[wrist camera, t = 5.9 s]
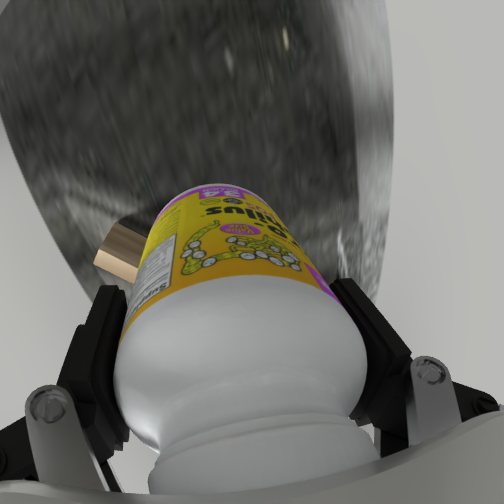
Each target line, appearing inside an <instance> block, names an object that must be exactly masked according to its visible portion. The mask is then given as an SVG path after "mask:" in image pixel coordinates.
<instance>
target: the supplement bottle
mask: <svg viewBox="0 0 504 504" xmlns="http://www.w3.org/2000/svg"><path fill="white" fill-rule="evenodd" d="M366 374H367V355H366V349H365V345H364V342H363V339H362V336H361V334H360V332H359V330H358V328H357V326H356V325H355V323H354V322H353V320H352V319H351V317H350V316H349V314H348V313H347V311H346V310H345V309H344V307H343V306H342V304H341V303H340V302H339V300H338V299H337V297H336V296H335V295H334V293H333V292H332V291H331V289H330V288H329V286H328V285H327V283H326V282H325V281H324V279H323V278H322V276H321V275H320V273H319V272H318V271H317V269H316V268H315V266H314V265H313V264H312V262H311V261H310V259H309V258H308V257H307V255H306V254H305V252H304V251H303V250H302V248H301V247H300V246H299V244H298V243H297V242H296V240H295V239H294V238H293V236H292V235H291V233H290V232H289V231H288V229H287V228H286V227H285V225H284V224H283V223H282V221H281V220H280V219H279V217H278V216H277V215H276V213H275V212H274V211H273V210H272V209H271V208H270V206H269V205H268V204H267V203H266V202H265V201H264V200H262V199H261V198H260V197H259V196H257V195H256V194H254V193H252V192H250V191H248V190H246V189H244V188H241V187H238V186H234V185H229V184H207V185H202V186H198V187H195V188H192V189H189V190H187V191H185V192H183V193H181V194H180V195H178V196H177V197H175V198H174V199H173V200H171V201H170V202H169V203H168V204H167V205H166V206H165V207H164V208H163V210H162V211H161V212H160V214H159V215H158V217H157V219H156V220H155V222H154V224H153V226H152V228H151V231H150V233H149V236H148V239H147V242H146V245H145V248H144V252H143V255H142V258H141V261H140V265H139V268H138V271H137V275H136V278H135V282H134V286H133V289H132V293H131V297H130V301H129V305H128V308H127V312H126V316H125V320H124V325H123V328H122V332H121V337H120V340H119V345H118V350H117V355H116V361H115V367H114V374H113V388H114V394H115V399H116V403H117V406H118V408H119V411H120V413H121V416H122V417H123V419H124V421H125V422H126V424H127V426H128V427H129V428H130V429H131V430H132V432H133V433H134V434H135V435H136V436H137V437H138V438H139V439H140V440H141V441H142V442H143V443H144V444H145V445H147V446H148V447H150V448H151V449H153V450H154V451H156V452H157V453H159V454H160V456H159V457H158V459H157V461H156V462H155V467H154V468H153V470H152V471H151V472H150V474H149V477H148V486H149V492H150V495H201V494H218V493H230V492H240V491H248V490H256V489H263V488H269V487H276V486H281V485H287V484H292V483H297V482H301V481H306V480H310V479H315V478H319V477H323V476H327V475H330V474H334V473H338V472H341V471H345V470H348V469H351V468H354V467H358V466H361V465H364V464H367V463H370V462H373V461H376V460H378V459H380V457H379V455H378V452H377V450H376V448H375V446H374V444H373V442H372V439H371V437H370V435H369V434H368V433H367V432H366V431H365V430H363V429H361V428H359V427H358V425H357V424H356V423H355V422H353V421H352V420H350V419H348V416H349V415H350V414H351V412H352V411H353V409H354V408H355V406H356V404H357V402H358V401H359V398H360V396H361V394H362V391H363V388H364V385H365V381H366Z"/></svg>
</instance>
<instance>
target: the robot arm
mask: <svg viewBox="0 0 504 504" xmlns="http://www.w3.org/2000/svg"><path fill="white" fill-rule="evenodd" d="M329 288H330V289H331V291H332V292H333V293H334V295H335V296H336V297H337V299H338V300H339V302H340V303H341V304H342V306H343V307H344V309H345V310H346V311H347V313H348V314H349V316H350V317H351V319H352V320H353V322H354V323H355V325H356V326H357V328H358V330H359V332H360V334H361V336H362V339H363V342H364V345H365V349H366V355H367V374H366V381H365V385H364V388H363V391H362V394H361V396H360V398H359V401H358V402H357V404H356V406H355V408H354V409H353V411H352V412H351V414H350V415H349V417H350V419H351V420H355V422H356V424H357V425H358V427H360V426H363V425H367V424H370V423H372V424H373V426H374V427H375V428H374V446H375V448H376V450H377V452H378V455H379V457H380V459H378V460H376V461H373V462H370V463H367V464H364V465H361V466H358V467H354V468H351V469H348V470H345V471H341V472H338V473H334V474H330V475H327V476H323V477H319V478H315V479H310V480H306V481H301V482H297V483H292V484H287V485H281V486H276V487H269V488H263V489H256V490H248V491H240V492H230V493H218V494H201V495H150V494H133V493H125V492H124V490H123V488H122V487H121V484H120V482H119V480H118V478H117V476H116V474H115V472H114V470H113V468H112V465H111V463H110V461H109V458H110V457H112V456H113V455H114V450H118V451H123V442H128V441H129V431H130V428H129V427H128V426H127V424H126V422H125V421H124V419H123V417H122V416H121V413H120V411H119V408H118V406H117V403H116V399H115V394H114V388H113V374H114V367H115V361H116V355H117V350H118V345H119V340H120V337H121V332H122V328H123V325H124V320H125V316H126V312H127V302H126V297H125V292H124V290H119V287H118V286H117V285H101V286H100V288H99V290H98V293H97V295H96V297H95V300H94V302H93V305H92V307H91V310H90V312H89V315H88V317H87V320H86V323H85V325H81V324H80V325H78V327H77V328H76V331H75V334H74V336H73V338H72V341H71V344H70V346H69V349H68V352H67V355H66V357H65V360H64V363H63V366H62V369H61V372H60V375H59V378H58V381H57V384H56V385H44V386H42V387H39V388H37V389H36V390H34V391H33V392H32V393H31V394H30V395H29V397H28V398H27V400H26V404H25V416H24V417H23V418H21V419H19V420H17V421H16V422H14V423H12V424H11V425H9V426H7V427H5V428H4V429H2V430H0V504H504V405H501V404H500V405H499V406H498V403H497V402H496V400H495V399H494V398H493V397H492V396H491V395H490V394H487V393H485V392H482V391H479V390H476V389H473V388H471V387H468V386H464V385H462V384H459V383H456V382H453V381H452V380H451V377H450V373H449V371H448V369H447V367H446V366H445V365H444V364H443V363H442V362H441V361H439V360H437V359H436V358H433V357H429V356H420V357H417V358H415V359H414V360H413V359H412V358H411V357H410V355H411V353H412V352H411V351H410V349H409V348H408V347H407V346H406V344H405V343H404V342H403V341H402V339H401V338H400V337H399V335H398V334H397V333H396V331H395V330H394V329H393V328H392V326H391V325H390V324H389V323H388V321H387V320H386V319H385V318H384V316H383V315H382V314H381V313H380V312H379V310H378V309H377V308H376V307H375V305H374V304H373V303H372V302H371V301H370V299H369V298H368V297H367V296H366V295H365V293H364V292H363V291H362V290H361V289H360V287H359V286H358V285H357V284H356V283H355V282H354V280H353V279H351V278H345V279H336V280H335V281H334V283H331V284H330V285H329Z"/></svg>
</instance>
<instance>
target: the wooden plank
mask: <svg viewBox="0 0 504 504" xmlns="http://www.w3.org/2000/svg"><path fill="white" fill-rule="evenodd" d="M147 239H148V238H146V237H144V236H142V235H140V234H138V233H136V232H134V231H132V230H130V229H128V228H126V227H124V226H122V225H121V224H119V223H117V222H115V224H114V225H113V227H112V228H111V230H110V232H109V233H108V235H107V237H106V238H105V240H104V242H103V243H102V245H101V247H100V249H99V251H98V253H97V256H96V258H95V261H94V263H93V264H95V265H97V266H99V267H101V268H103V269H105V270H107V271H109V272H111V273H113V274H115V275H117V276H119V277H121V278H123V279H125V280H127V281H129V282H131V283H133V284H134V282H135V278H136V275H137V271H138V268H139V265H140V261H141V258H142V255H143V252H144V248H145V245H146V242H147Z"/></svg>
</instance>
